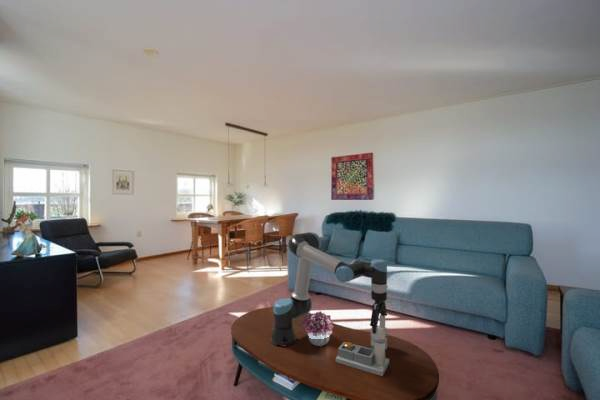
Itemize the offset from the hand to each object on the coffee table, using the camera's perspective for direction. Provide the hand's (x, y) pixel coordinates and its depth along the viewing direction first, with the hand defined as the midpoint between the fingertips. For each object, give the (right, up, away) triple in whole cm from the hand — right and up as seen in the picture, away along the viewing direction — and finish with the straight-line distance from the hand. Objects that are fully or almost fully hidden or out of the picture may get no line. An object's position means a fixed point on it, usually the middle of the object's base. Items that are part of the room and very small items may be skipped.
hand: (378, 333), depth 142 cm
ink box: (+5, -17, +18) cm, 25 cm away
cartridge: (0, -15, 0) cm, 15 cm away
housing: (-7, -17, +4) cm, 19 cm away
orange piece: (-14, -15, +8) cm, 22 cm away
